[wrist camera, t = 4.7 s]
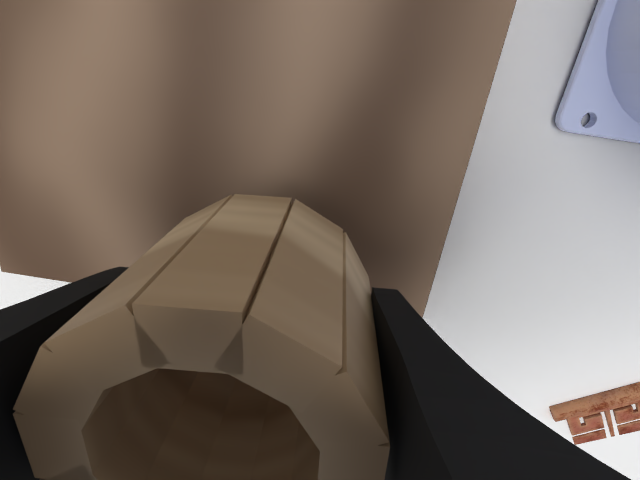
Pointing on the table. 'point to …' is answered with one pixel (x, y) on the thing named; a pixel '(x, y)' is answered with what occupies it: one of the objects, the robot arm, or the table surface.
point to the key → (591, 410)
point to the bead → (217, 359)
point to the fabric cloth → (238, 123)
